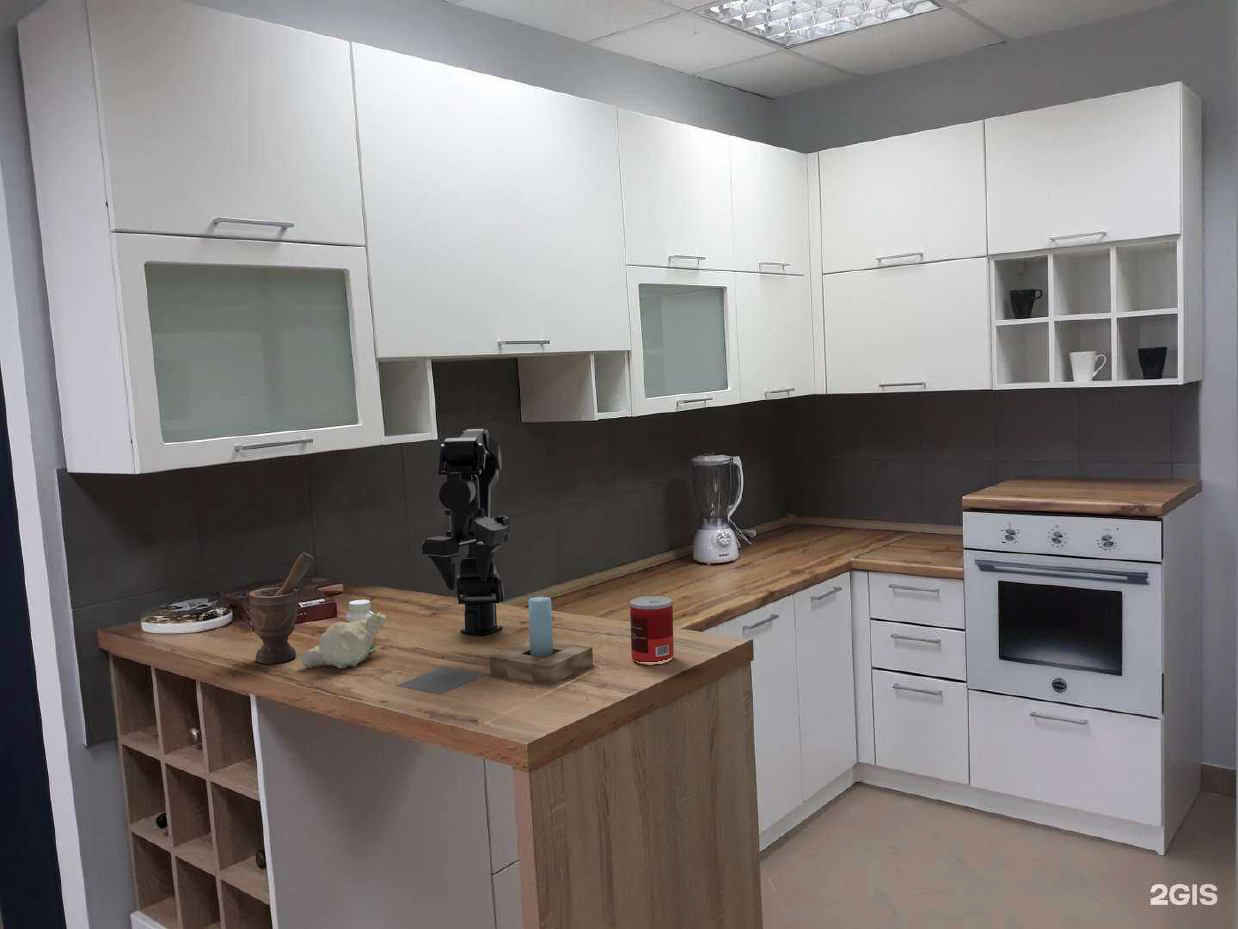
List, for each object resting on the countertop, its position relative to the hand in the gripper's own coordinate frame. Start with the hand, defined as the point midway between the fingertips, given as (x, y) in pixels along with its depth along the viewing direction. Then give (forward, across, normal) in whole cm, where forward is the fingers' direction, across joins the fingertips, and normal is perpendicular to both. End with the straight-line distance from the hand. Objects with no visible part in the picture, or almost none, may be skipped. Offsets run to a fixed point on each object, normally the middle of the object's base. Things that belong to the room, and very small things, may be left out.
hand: (467, 584), depth 190 cm
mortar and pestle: (+13, -19, +30) cm, 38 cm away
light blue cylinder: (+13, -4, -20) cm, 24 cm away
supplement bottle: (+13, -9, +20) cm, 25 cm away
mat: (+13, -17, -8) cm, 23 cm away
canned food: (+13, +11, -34) cm, 38 cm away
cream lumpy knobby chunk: (+13, -15, +16) cm, 26 cm away
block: (+13, -4, -20) cm, 24 cm away
